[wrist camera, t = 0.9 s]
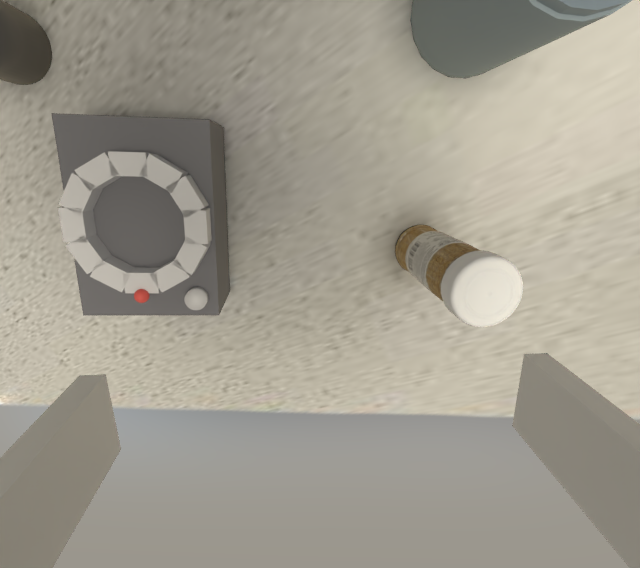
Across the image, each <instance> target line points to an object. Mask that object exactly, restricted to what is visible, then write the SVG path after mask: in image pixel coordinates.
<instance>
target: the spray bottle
mask: <svg viewBox="0 0 640 568" xmlns="http://www.w3.org/2000/svg"><path fill="white" fill-rule="evenodd" d="M631 1H632V0H413V4H412V13H411V25H412V32H413V38H414V41H415V44H416V46H417V48H418V50H419V52H420V54H421V56H422V58H423V59H424V60H425V61H426V62H427V63H428V64H429V65H430V66H431V67H432V68H433V69H434V70H436V71H438V72H440V73H442V74H444V75H446V76H448V77H457V78H468V77H472V76H476V75H480V74H483V73H485V72H487V71H489V70H491V69H493V68H496V67H498V66H500V65H502V64H504V63H506V62H509V61H511V60H513V59H515V58H517V57H519V56H522V55H524V54H526V53H528V52H530V51H532V50H535V49H537V48H539V47H541V46H543V45H545V44H548V43H550V42H552V41H554V40H556V39H558V38H561V37H563V36H565V35H567V34H569V33H571V32H574V31H576V30H578V29H580V28H582V27H584V26H587V25H589V24H591V23H593V22H595V21H597V20H600V19H602V18H604V17H606V16H608V15H610V14H612V13H614V12H615V11H617V10H618V9H620V8H621V7H623V6H624V5H626V4H628V3H629V2H631Z"/></svg>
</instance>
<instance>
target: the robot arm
mask: <svg viewBox="0 0 640 568" xmlns="http://www.w3.org/2000/svg"><path fill="white" fill-rule="evenodd" d="M512 426H513V427H514V428H515V430H516V431H517V432H518V433H519V434H520V436H521V437H522V438H523V439H524V440H525V442H526V443H527V444H528V445H529V447H530V448H531V449H532V450H533V451H534V452H535V454H536V455H537V456H538V457H539V459H540V460H541V461H542V462H543V463H544V465H545V466H546V467H547V468H548V470H549V471H550V472H551V473H552V474H553V476H554V477H555V478H556V479H557V480H558V482H559V483H560V484H561V485H562V486H563V488H564V489H565V490H566V491H567V493H568V494H569V495H570V496H571V497H572V499H573V500H574V501H575V502H576V503H577V505H578V506H579V507H580V508H581V509H582V511H583V512H584V513H585V514H586V516H587V517H588V518H589V519H590V520H591V522H592V523H593V524H594V525H595V526H596V528H597V529H598V530H599V531H600V533H601V534H602V535H603V536H604V537H605V539H606V540H607V541H608V542H609V543H610V544H611V546H612V547H613V548H614V550H615V551H616V552H617V553H618V554H619V556H620V557H621V558H622V559H623V560H624V562H625V563H626V564H627V565H628V566H629V568H640V424H639V423H637V422H636V421H635V420H633V419H632V418H631V417H629V416H628V415H627V414H626V413H624V412H623V411H622V410H620V409H619V408H618V407H616V406H615V405H614V404H612V403H611V402H610V401H609V400H607V399H606V398H605V397H603V396H602V395H601V394H599V393H598V392H597V391H596V390H594V389H593V388H592V387H590V386H589V385H588V384H586V383H585V382H584V381H582V380H581V379H580V378H579V377H577V376H576V375H575V374H573V373H572V372H571V371H569V370H568V369H567V368H566V367H564V366H563V365H562V364H560V363H559V362H558V361H556V360H555V359H554V358H552V357H551V356H550V355H549V354H547V353H541V354H524V358H523V364H522V370H521V376H520V383H519V389H518V395H517V401H516V407H515V413H514V419H513V425H512ZM120 450H121V447H120V442H119V437H118V432H117V428H116V423H115V418H114V413H113V408H112V403H111V398H110V394H109V389H108V384H107V379H106V374H105V375H84V376H79V377H78V378H77V379H76V380H75V381H74V382H73V383H72V384H71V385H70V386H69V387H68V388H67V389H66V390H65V391H64V392H63V393H62V394H61V395H60V396H59V397H58V398H57V399H56V400H55V401H54V403H53V404H52V405H51V406H50V407H49V408H48V409H47V410H46V411H45V412H44V413H43V414H42V415H41V416H40V417H39V418H38V419H37V420H36V421H35V422H34V423H33V425H31V426H30V427H29V429H28V430H27V431H26V432H25V433H24V434H23V435H22V436H21V437H20V438H19V439H18V440H17V441H16V442H15V443H14V444H13V445H12V446H11V447H10V448H9V449H8V450H7V451H6V452H5V453H4V455H3V456H2V457H1V458H0V568H53V566H54V564H55V563H56V561H57V559H58V558H59V556H60V554H61V552H62V551H63V549H64V547H65V545H66V544H67V542H68V540H69V539H70V537H71V535H72V533H73V532H74V530H75V528H76V526H77V525H78V523H79V521H80V519H81V518H82V516H83V514H84V513H85V511H86V509H87V507H88V506H89V504H90V502H91V500H92V499H93V497H94V495H95V493H96V492H97V490H98V488H99V487H100V485H101V483H102V481H103V480H104V478H105V476H106V474H107V473H108V471H109V469H110V468H111V466H112V464H113V462H114V461H115V459H116V457H117V455H118V454H119V452H120Z"/></svg>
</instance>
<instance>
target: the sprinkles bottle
mask: <svg viewBox="0 0 640 568" xmlns="http://www.w3.org/2000/svg"><path fill="white" fill-rule="evenodd" d="M396 257H397V260H398V263H399V264H400V265H401V267H402V268H404V269H405V270H407V271H409V272H410V273H411V274H412V275H413V276H414V277H415V278H416V279H417V280H419V281H420V282H421V283H422V284H423V285H424V286H425V287H426V288H427V289H429V290H430V291H431V292H432V293H434V294H435V295H436V296H437V297H439V298H440V299H441V300H442V301H443V302H444V304H445V306H446V307H447V308H448V310H449V311H450V312H452V313H453V314H454V315H455V316H456V317H457V318H459V319H460V320H461V321H463V322H464V323H466V324H468V325H471V326H475V327H488V326H493V325H496V324H498V323H500V322H502V321H504V320H505V319H506V318H508V317H509V316H510V315H511V314H512V313H513V312H514V311H515V309H516V308H517V306H518V304H519V303H520V300H521V297H522V293H523V280H522V276H521V274H520V272H519V270H518V269H517V267H516V266H515V265H514V264H513V263H512V262H510V261H509V260H507V259H505V258H503V257H501V256H499V255H497V254H495V253H492V252H489V251H480V250H478V249H476V248H474V247H473V246H471V245H469V244H467V243H464V242H462V241H460V240H457V239H455V238H453V237H451V236H449V235H446V234H444V233H442V232H438V231H437V230H435V229H434V228H432V227H430V226H427V225H416V226H413V227H411V228H409V229H407V230H406V231H405V232H404V233H402V234H401V236H400V238H399V239H398V242H397V244H396Z"/></svg>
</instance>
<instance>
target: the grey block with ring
mask: <svg viewBox="0 0 640 568" xmlns="http://www.w3.org/2000/svg"><path fill="white" fill-rule="evenodd" d="M52 119H53V125H54V131H55V138H56V144H57V151H58V157H59V163H60V170H61V176H62V182H63V189H64V192H63V194H62V196H61V199H60V201H59V203H58V204H59V205H61V206H63V207H58V212H59V218H60V224H61V231H62V237H63V242H70V243H69V244H67V245H65V246H66V248H67V249H68V250H69V252H70V253H71V254H72V255H73V257H74V259H75V265H76V271H77V278H78V284H79V290H80V297H81V303H82V310H83V315H219V314H220V312H221V310H222V307H223V305H224V303H225V301H226V299H227V296H228V294H229V292H230V279H229V254H228V229H227V204H226V179H225V154H224V129H223V127H222V126H220V125H218V124H217V123H215V122H213V121H211V120H209V119H184V118H158V117H132V116H106V115H80V114H54V113H52Z"/></svg>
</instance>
